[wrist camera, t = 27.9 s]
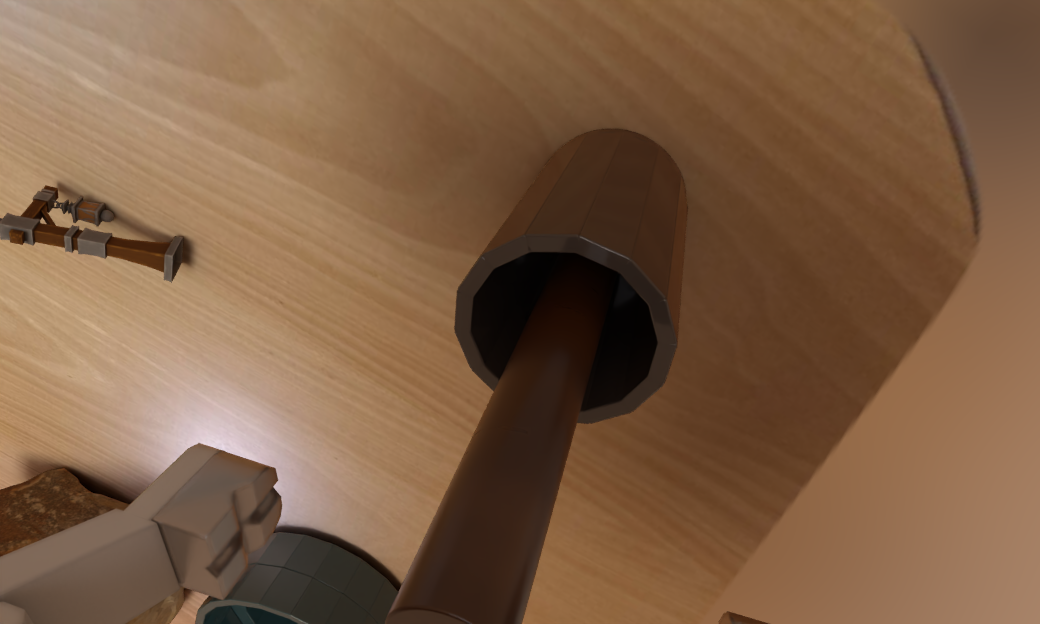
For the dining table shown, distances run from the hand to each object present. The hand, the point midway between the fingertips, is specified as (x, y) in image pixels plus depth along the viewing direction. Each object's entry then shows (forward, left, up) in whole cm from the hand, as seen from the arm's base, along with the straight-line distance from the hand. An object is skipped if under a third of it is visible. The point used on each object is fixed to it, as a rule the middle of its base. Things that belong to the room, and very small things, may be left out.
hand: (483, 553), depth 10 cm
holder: (0, 0, -17) cm, 17 cm away
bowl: (+15, +36, -17) cm, 42 cm away
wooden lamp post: (+25, +7, -17) cm, 31 cm away
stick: (0, 0, -16) cm, 16 cm away
